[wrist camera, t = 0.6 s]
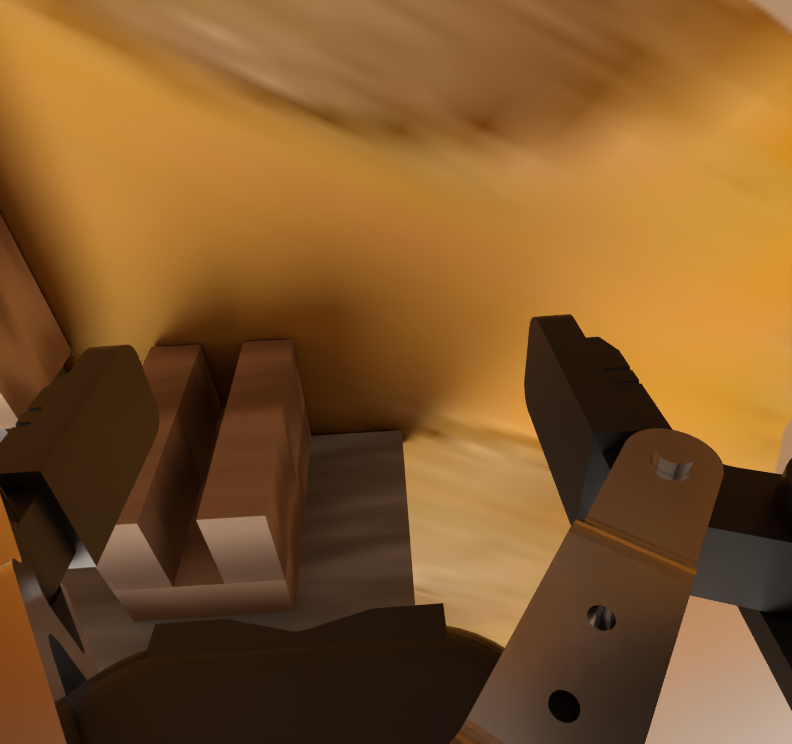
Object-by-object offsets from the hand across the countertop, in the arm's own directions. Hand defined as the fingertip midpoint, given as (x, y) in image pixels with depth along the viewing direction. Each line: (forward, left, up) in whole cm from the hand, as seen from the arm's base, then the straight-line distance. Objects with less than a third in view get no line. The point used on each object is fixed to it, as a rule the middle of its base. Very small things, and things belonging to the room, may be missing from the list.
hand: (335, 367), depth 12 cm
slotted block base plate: (+16, -8, -17) cm, 25 cm away
